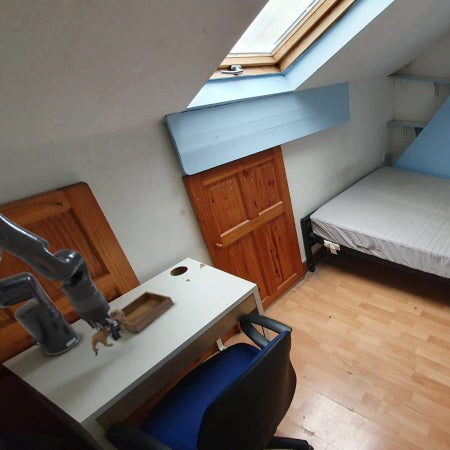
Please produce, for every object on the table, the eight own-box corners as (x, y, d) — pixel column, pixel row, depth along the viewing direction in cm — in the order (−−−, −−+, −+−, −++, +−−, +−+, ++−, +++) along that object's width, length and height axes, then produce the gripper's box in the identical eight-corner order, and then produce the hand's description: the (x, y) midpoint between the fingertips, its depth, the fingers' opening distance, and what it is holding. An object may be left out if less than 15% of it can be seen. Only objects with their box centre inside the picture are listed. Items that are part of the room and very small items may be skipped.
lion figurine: (121, 323, 117) (110, 306, 112) (135, 323, 117) (125, 306, 113) (88, 357, 104) (75, 339, 100) (105, 357, 105) (92, 339, 100)
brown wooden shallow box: (113, 325, 125) (108, 318, 123) (150, 298, 138) (146, 291, 136) (139, 332, 122) (134, 325, 120) (173, 304, 136) (170, 297, 133)
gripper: (117, 299, 104) (138, 333, 113) (86, 291, 107) (108, 325, 115) (93, 316, 97) (117, 350, 106) (60, 307, 100) (86, 341, 109)
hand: (112, 337), depth 111 cm, fingers closed on lion figurine, 4 cm apart
